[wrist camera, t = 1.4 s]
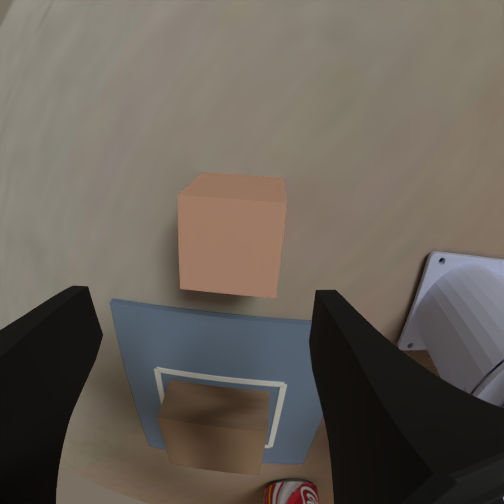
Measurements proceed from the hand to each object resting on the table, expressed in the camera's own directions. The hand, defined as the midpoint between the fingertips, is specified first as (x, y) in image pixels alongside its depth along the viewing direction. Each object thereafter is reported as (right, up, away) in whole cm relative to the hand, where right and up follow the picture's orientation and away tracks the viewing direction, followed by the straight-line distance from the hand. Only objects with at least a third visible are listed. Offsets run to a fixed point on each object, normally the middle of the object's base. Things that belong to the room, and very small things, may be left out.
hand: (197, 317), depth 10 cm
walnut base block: (-1, -12, +16) cm, 20 cm away
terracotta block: (+1, +4, +9) cm, 10 cm away
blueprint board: (-1, -11, +16) cm, 19 cm away
